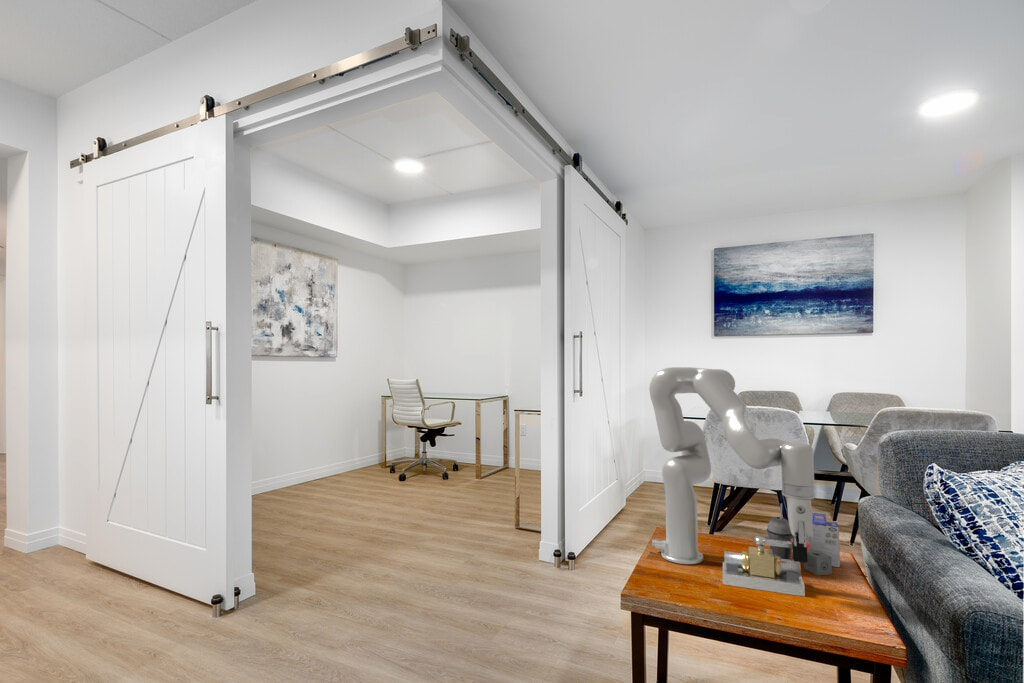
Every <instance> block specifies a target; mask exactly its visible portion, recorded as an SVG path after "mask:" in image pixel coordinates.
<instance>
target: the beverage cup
mask: <svg viewBox="0 0 1024 683" xmlns="http://www.w3.org/2000/svg"><path fill="white" fill-rule="evenodd" d="M779 508H780V512H779V513H780V516H776V517H772V518H771V519H770V520H769V522H768V523H767V527H766V528H767V529H766V531H767V537H768V539H771V540H780V541H789V542H791V539H793V535H792V534H791V531H790V527H789V521H788V519H786V518H785V517H783V503H780V507H779ZM769 549H772V551H773V555H776V556H780V558H781V559H789V560H792V555H793V549H792V548H787V547H778V546H770V545H769Z"/></svg>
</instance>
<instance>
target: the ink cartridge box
mask: <svg viewBox="0 0 1024 683" xmlns="http://www.w3.org/2000/svg"><path fill="white" fill-rule="evenodd" d="M826 515H827V514H825V513H818V512H817V513H816V512H812V523H813V538H812V539H811V538H810V537H808V535H807V533H806V540H807V541H809V542H810V544H811V551H820V552H823V553H825V554H827V555H829V556H831V557H832V567H836V568H840V566H841V562H840V561H841V560H840V557H841V555H840V552H841V551H840V526H839V525H838V523H837V522H834V521H827V516H826ZM819 516H820V517H822V518H819Z"/></svg>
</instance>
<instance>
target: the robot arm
mask: <svg viewBox="0 0 1024 683" xmlns="http://www.w3.org/2000/svg"><path fill="white" fill-rule="evenodd" d="M735 387H736V381H735V378H734V376H733V375H732V374H731V373H730V371H729V372H728V371H727V370H725V369H718V368H715V369H713V368H701V367H681V366H680V367H678V366H677V367H665V368H663V369H661V370H659V371H657V372H656V373H655V374H654V375H653V377H652V378H651V381H650V383H649V389H648V390H649V396H650V400H651V404H652V406H653V410H654V415H655V421H656V425H657V431H658V436H659V441H660V444H661V446H662V448H663V450H665V451H666V452H669V453H678V452H681V455H676V456H674V457H671V458H669V459H668V460H666V461H665V463H663V466H662V470H661V471H662V472H661V474H662V481H663V485H664V495H665V537H666V538H665V539H664V540H657V539H652V541H651V546H652V547H654V548H655V549H660V550H661V551H660V552H661V557H662V558H664V559H665V560H667V561H669V562H672V563H676V564H679V565H680V564H681V565H696V564H700V563H702V562H704V561H703V560H704V555H703V553H702V552H700V551H699V543H698V542H699V539H698V538H699V537H698V536H699V535H698V533H699V532H698V501H697V495H696V492H695V490H694V487H693V486H694V485H698V484H701V483H704V482H705V481H707V480H708V479H709V478H710V476H711V474H712V473H711V472H712V464H711V459H710V455H709V451H708V446H707V442H706V438H705V434H704V431H703V429H702V428H701V426H699V424H697V423H696V422H694V421H692V420H691V421H690V420H685V419H684V415H683V410H682V408H681V404H680V403H679V401H678V399H677V398H676V397H675V395H676V394H697V395H698V396H699V397H700V399H702V401H703V402H704V403H705V404H706V405H707V406H708V407H709V409H710V410H711V411H712V412H713V413H714V415H715V416H716V417H717V418H718V419H719V421H720V422H721V426H722V430H723V432H724V437H725V438H726V441H727V443H728V444H729V446H730V447H731V448H732V450H733V451H734V452H735V453H736V454H737V456H738V457H739V458H740V459H741V460H742V461H743V462H744V463H745V464H746V465H747V466H749V467H751V468H752V469H755V470H765V469H768V468H771V467H778V466H781V494H782V496H783V497H785V498H786V500H787V502H786V503H787V504H786V506H787V518H788V519H787V520H788V521H789V527H790V531H791V534H792V535H793V543H794V544H792V546H793V549H792V560H794V561H796V562H800V563H803V564H804V563H807V547H806V533H807V535H808V537H810V538H811V539H812V538H813V523H812V519H813V510H812V501H811V500H813V499H815V467H814V466H815V463H814V461H815V460H814V449H813V446H812V445H811V444H808V443H804V442H798V441H796V442H794V441H793V442H792V441H791V442H790V441H786V440H782V439H778V438H770V437H769V438H765V439H763V438H762V439H758V437H757V436H756V435H755V434H754V433H753V432H752V431H751V429H750V428H749V427H748V425H747V423H746V420H745V412H746V411H747V405H746V403H745V402H744V401H743V400H742V398H741V397H740V396H739V395H738V394H737V393H736V392H735Z"/></svg>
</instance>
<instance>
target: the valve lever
mask: <svg viewBox="0 0 1024 683" xmlns="http://www.w3.org/2000/svg"><path fill="white" fill-rule="evenodd" d="M754 543H755V544H756V545H757V546H758V545H764V546H769V547H770V546H778V547H787V548H792V550H793V546H792V544H794V543H793V539H791V542H789V541H780V540H771V539H769V538H767V537H764V536H759V535H756V536H754ZM806 547H807V551H811V544H810V542H809V541H807V540H806Z"/></svg>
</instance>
